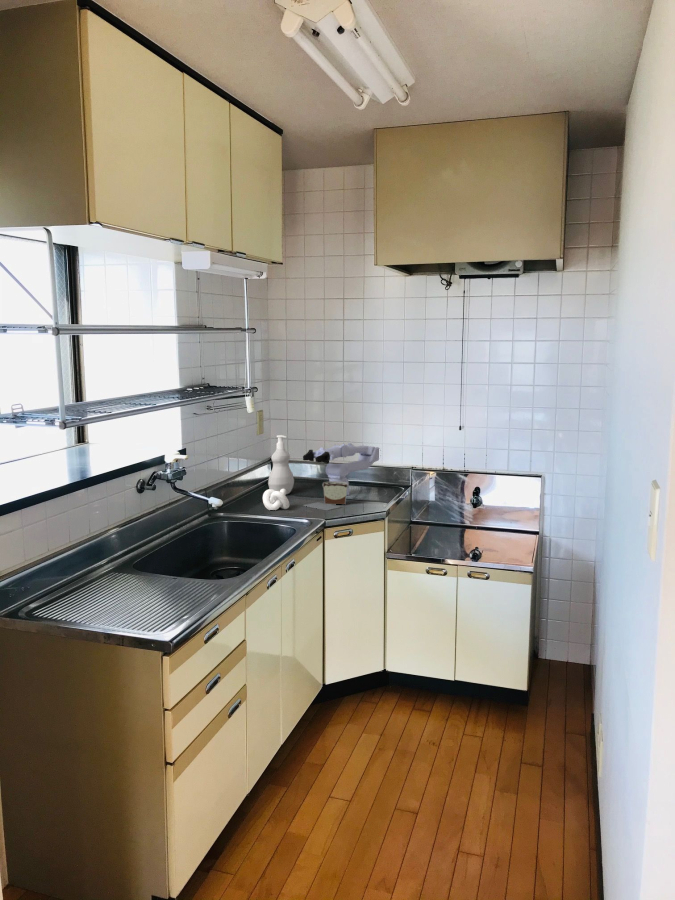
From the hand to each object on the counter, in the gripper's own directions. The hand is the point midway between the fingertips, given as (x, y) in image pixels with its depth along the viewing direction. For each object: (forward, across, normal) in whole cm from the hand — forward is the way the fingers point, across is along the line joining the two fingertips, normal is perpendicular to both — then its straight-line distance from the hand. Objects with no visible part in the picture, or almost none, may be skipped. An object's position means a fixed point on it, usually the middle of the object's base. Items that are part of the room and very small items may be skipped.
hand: (309, 458), depth 334 cm
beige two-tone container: (-2, +13, +20) cm, 24 cm away
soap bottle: (-6, -25, +22) cm, 33 cm away
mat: (+6, +12, +20) cm, 24 cm away
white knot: (+22, -1, +20) cm, 29 cm away
